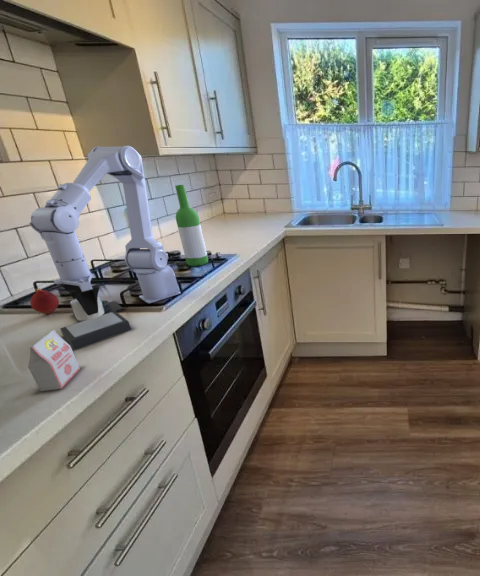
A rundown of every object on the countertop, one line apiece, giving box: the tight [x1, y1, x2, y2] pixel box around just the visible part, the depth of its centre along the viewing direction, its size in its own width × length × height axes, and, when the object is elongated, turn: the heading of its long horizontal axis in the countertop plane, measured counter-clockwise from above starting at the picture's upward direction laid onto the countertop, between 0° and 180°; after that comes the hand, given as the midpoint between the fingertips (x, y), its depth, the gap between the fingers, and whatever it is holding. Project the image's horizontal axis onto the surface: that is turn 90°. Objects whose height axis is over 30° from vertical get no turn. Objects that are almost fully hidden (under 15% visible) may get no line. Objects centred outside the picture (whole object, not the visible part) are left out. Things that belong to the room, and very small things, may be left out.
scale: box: [59, 311, 132, 350], centre depth 92 cm, size 12×10×3 cm
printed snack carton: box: [27, 329, 81, 392], centre depth 73 cm, size 4×7×10 cm, turn 12°
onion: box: [29, 288, 60, 315], centre depth 102 cm, size 6×6×8 cm
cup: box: [69, 295, 104, 322], centre depth 90 cm, size 6×6×4 cm
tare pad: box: [72, 300, 125, 322], centre depth 103 cm, size 10×8×2 cm
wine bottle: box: [174, 184, 209, 267], centre depth 136 cm, size 8×8×30 cm
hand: (89, 310), depth 90 cm, fingers closed on cup, 6 cm apart
